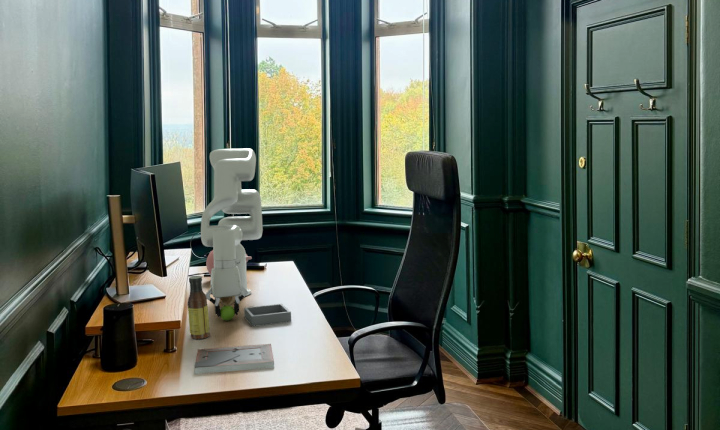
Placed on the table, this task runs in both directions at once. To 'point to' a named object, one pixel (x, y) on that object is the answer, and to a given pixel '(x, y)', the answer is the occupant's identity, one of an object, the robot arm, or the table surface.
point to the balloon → (211, 261)
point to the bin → (267, 314)
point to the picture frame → (234, 358)
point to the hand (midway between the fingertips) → (227, 314)
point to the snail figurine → (227, 308)
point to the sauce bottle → (198, 309)
